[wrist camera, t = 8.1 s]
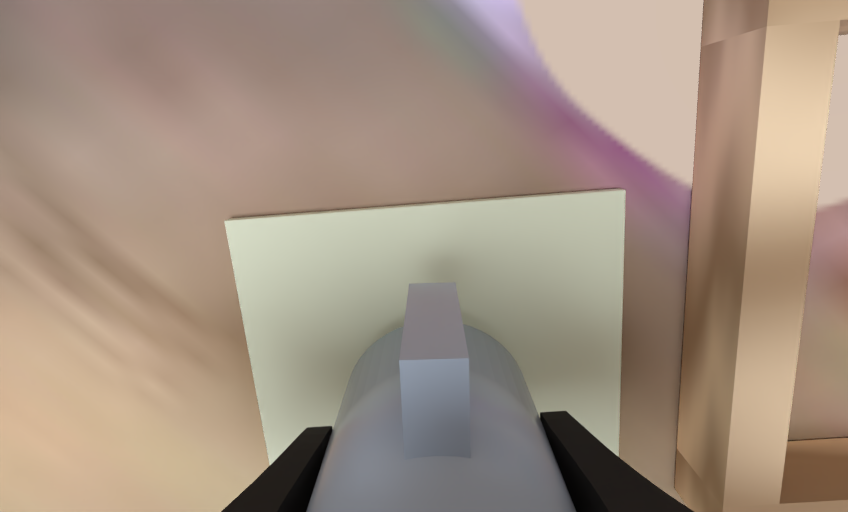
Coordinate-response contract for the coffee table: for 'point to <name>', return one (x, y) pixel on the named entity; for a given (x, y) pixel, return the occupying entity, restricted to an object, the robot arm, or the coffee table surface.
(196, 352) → the coffee table surface
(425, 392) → the grey rounded cylinder
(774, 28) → the frame
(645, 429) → the coffee table surface
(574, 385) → the sage mat
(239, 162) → the coffee table surface
